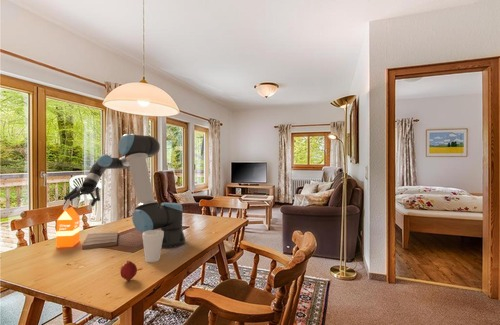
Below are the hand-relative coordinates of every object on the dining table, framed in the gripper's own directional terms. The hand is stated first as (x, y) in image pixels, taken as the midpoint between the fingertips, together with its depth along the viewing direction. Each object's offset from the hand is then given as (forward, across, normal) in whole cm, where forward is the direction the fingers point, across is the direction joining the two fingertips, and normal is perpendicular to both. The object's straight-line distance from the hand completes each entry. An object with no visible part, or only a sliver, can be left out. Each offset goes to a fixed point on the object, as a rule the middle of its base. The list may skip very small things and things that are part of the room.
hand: (76, 210), depth 145 cm
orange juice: (+18, -1, -7) cm, 19 cm away
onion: (+48, -51, +24) cm, 74 cm away
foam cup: (+34, -53, +9) cm, 64 cm away
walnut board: (+14, -16, -11) cm, 24 cm away
